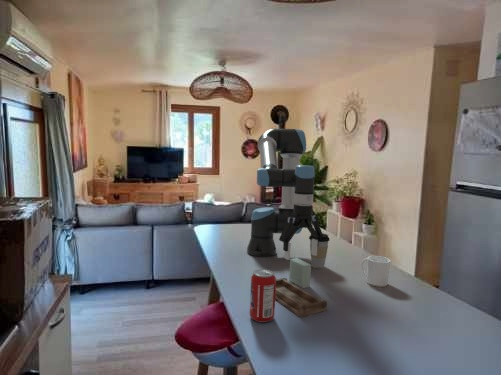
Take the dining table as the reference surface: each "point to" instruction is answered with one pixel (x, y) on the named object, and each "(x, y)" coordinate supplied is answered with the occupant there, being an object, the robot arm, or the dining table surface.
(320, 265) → the coffee cup
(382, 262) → the mug
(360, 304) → the dining table surface
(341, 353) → the dining table surface
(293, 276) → the pale green block
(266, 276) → the soda can
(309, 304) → the wooden tray
